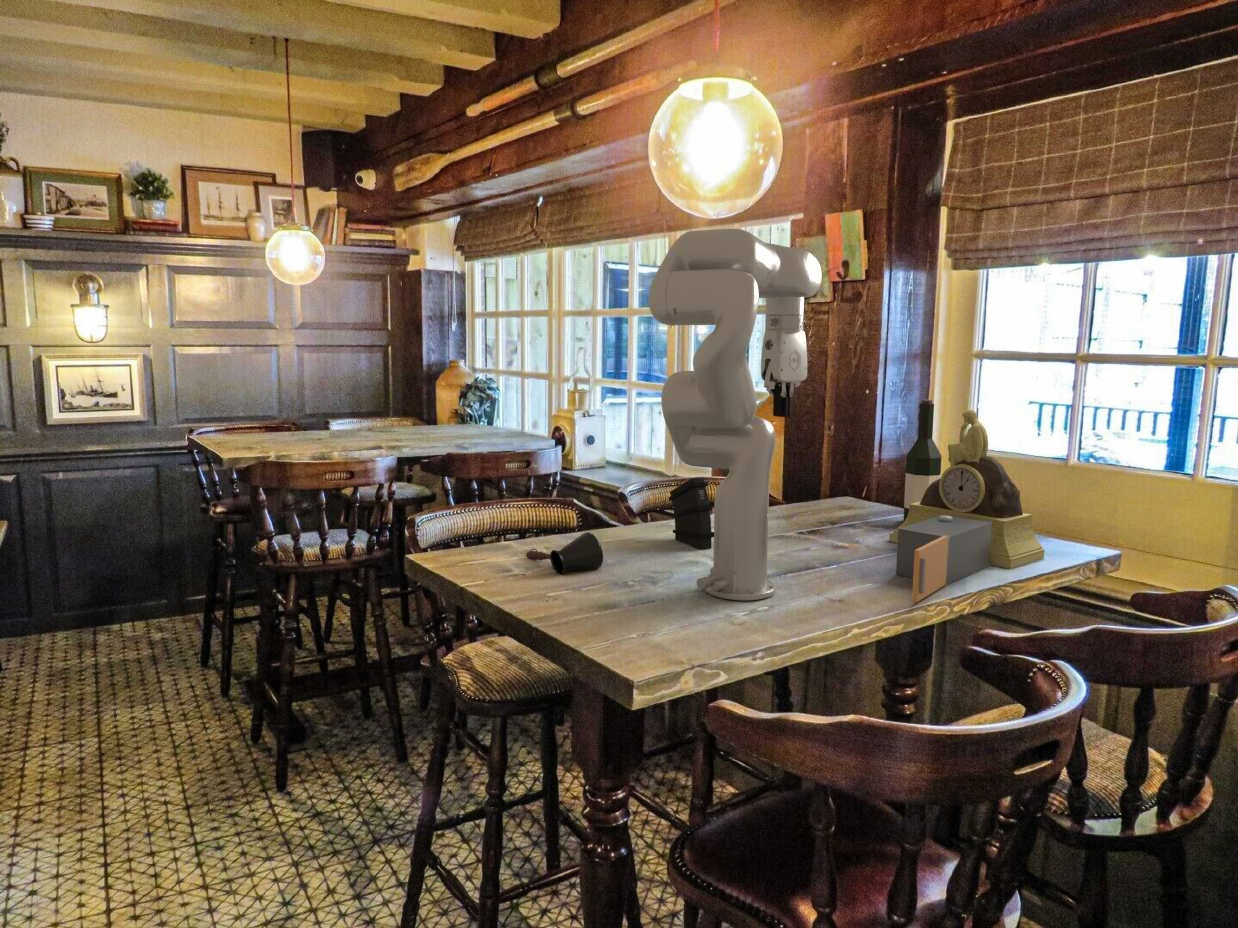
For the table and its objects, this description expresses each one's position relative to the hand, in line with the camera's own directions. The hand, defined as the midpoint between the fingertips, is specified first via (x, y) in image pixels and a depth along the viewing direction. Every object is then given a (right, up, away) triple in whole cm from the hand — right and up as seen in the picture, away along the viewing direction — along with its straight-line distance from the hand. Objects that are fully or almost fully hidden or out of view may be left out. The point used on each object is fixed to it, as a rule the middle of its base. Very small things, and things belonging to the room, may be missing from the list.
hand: (781, 416), depth 174 cm
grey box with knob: (+31, -30, -6) cm, 44 cm away
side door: (+22, -32, -22) cm, 45 cm away
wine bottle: (+40, -24, +33) cm, 57 cm away
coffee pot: (-44, -30, -2) cm, 54 cm away
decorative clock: (+41, -28, +9) cm, 50 cm away
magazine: (-17, -27, +16) cm, 36 cm away
